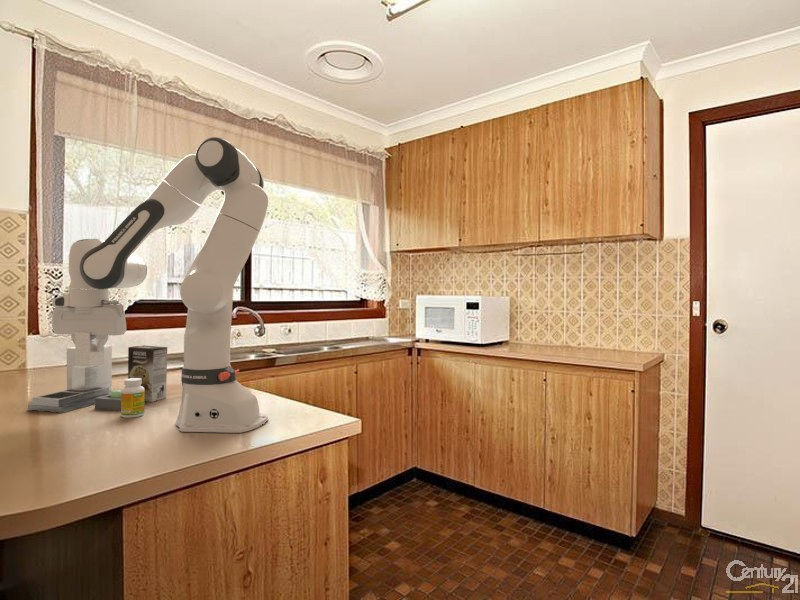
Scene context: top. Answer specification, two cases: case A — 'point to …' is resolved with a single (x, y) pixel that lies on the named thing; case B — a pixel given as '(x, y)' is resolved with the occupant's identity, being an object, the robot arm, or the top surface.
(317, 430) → the top surface
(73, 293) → the robot arm
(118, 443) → the top surface
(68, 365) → the supplement box
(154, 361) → the coffee box
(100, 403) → the grey square frame
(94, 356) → the billet
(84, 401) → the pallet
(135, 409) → the supplement bottle
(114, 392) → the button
